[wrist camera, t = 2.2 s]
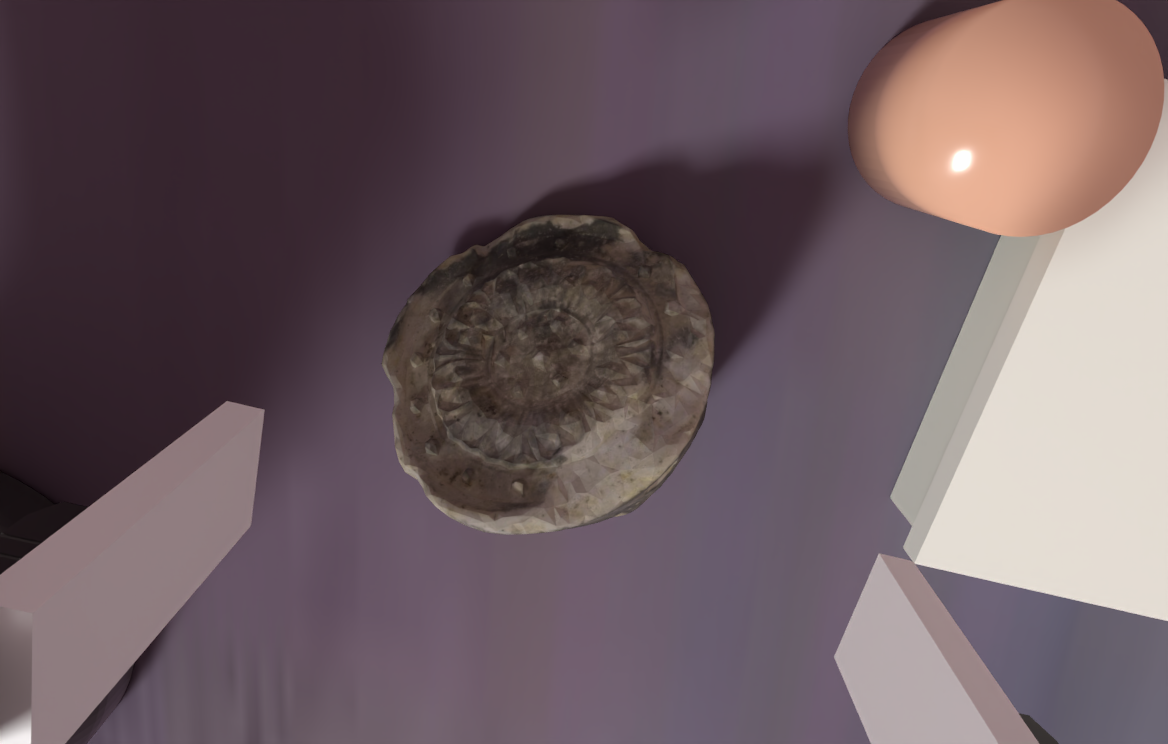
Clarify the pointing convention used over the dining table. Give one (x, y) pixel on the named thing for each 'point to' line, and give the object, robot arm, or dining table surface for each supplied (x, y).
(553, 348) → the fossil
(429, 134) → the dining table surface
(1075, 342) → the stand
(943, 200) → the peach rounded glossy part
